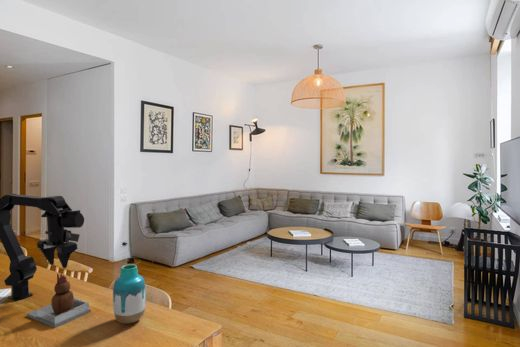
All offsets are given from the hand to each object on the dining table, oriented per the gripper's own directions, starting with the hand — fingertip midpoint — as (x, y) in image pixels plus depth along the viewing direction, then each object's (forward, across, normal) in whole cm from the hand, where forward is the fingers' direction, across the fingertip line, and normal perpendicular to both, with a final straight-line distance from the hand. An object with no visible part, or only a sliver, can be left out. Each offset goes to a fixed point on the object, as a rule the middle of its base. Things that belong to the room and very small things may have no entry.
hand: (58, 266), depth 132 cm
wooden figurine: (+13, -16, +7) cm, 21 cm away
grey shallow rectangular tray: (+13, -13, +8) cm, 20 cm away
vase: (+14, -39, -2) cm, 42 cm away
